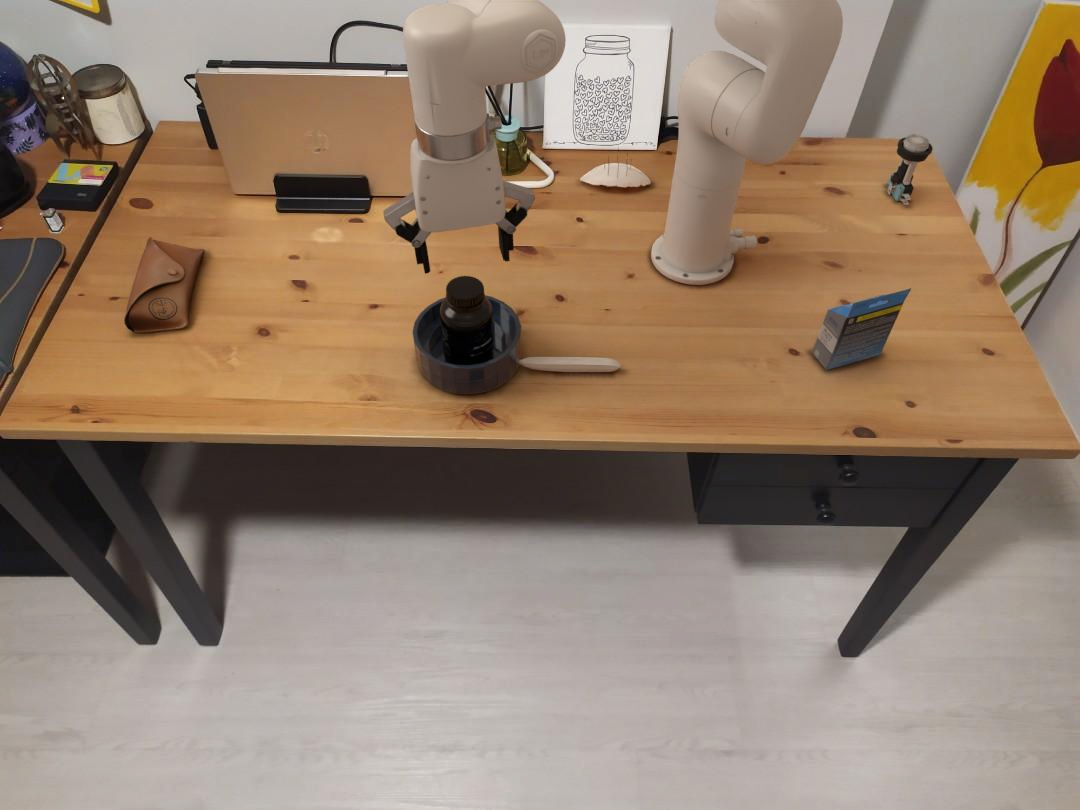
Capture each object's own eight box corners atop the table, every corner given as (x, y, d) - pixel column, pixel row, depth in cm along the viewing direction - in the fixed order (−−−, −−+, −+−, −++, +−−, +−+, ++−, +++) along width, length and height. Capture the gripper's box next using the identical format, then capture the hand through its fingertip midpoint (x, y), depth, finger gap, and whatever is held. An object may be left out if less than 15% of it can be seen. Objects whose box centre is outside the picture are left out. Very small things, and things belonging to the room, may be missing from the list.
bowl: (510, 316, 116) (509, 287, 112) (531, 388, 107) (531, 359, 103) (411, 330, 114) (407, 301, 110) (424, 404, 105) (419, 375, 101)
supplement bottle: (487, 377, 108) (483, 309, 99) (438, 369, 108) (429, 301, 99) (499, 341, 112) (497, 274, 103) (452, 334, 113) (445, 266, 104)
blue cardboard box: (864, 337, 114) (894, 269, 105) (881, 356, 112) (913, 287, 102) (810, 352, 112) (835, 284, 103) (826, 372, 110) (853, 303, 100)
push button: (920, 206, 135) (943, 153, 127) (889, 208, 135) (911, 154, 127) (905, 183, 139) (927, 130, 132) (875, 185, 139) (895, 131, 131)
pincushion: (579, 192, 136) (581, 163, 132) (580, 172, 140) (581, 143, 136) (650, 195, 136) (654, 166, 132) (649, 175, 140) (653, 145, 136)
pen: (516, 364, 110) (516, 355, 109) (619, 365, 110) (621, 356, 109) (516, 372, 109) (516, 363, 108) (620, 373, 109) (621, 364, 108)
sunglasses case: (191, 326, 113) (151, 297, 109) (155, 348, 116) (114, 321, 111) (206, 246, 125) (171, 217, 120) (173, 268, 127) (137, 240, 123)
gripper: (525, 104, 89) (528, 231, 102) (367, 124, 86) (391, 251, 100) (540, 141, 84) (541, 269, 97) (373, 163, 82) (397, 291, 95)
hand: (465, 260), depth 98 cm, fingers open, 9 cm apart
